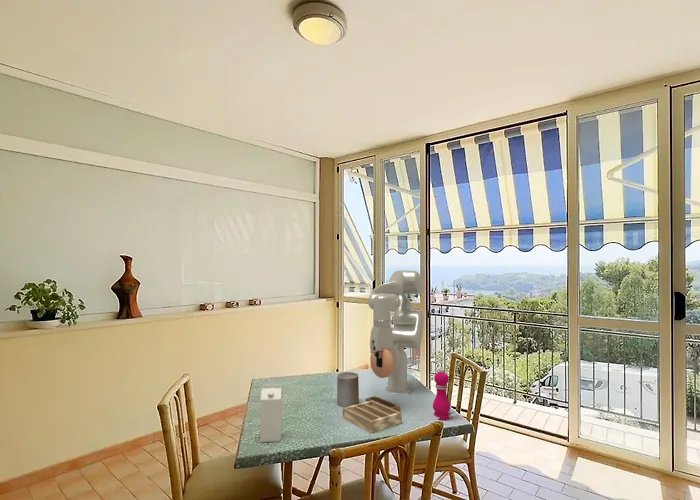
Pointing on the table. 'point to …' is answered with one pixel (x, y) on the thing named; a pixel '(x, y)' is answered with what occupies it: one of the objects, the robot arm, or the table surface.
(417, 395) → the table surface
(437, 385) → the pepper mill
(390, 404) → the narrow wooden tray
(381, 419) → the rack
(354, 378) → the pillar candle
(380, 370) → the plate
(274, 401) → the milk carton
